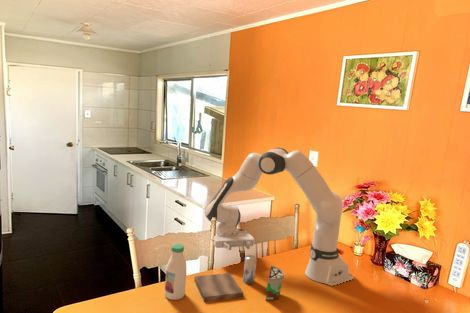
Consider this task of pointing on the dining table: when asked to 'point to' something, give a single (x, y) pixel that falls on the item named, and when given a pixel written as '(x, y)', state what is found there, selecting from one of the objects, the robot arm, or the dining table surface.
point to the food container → (274, 283)
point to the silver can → (249, 269)
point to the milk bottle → (176, 274)
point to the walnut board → (218, 287)
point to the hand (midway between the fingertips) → (239, 247)
